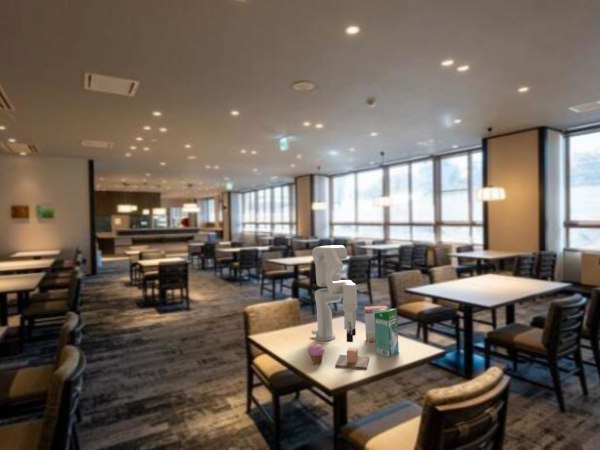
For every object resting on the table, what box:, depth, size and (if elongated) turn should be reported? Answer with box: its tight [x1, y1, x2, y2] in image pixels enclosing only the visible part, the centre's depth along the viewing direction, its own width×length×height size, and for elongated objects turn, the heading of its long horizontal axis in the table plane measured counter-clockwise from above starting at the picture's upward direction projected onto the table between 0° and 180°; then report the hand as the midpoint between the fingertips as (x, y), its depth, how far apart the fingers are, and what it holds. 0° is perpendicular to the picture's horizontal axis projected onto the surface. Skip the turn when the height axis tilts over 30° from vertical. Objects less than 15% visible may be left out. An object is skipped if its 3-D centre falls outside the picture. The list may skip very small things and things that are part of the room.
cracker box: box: [363, 305, 389, 343], centre depth 222 cm, size 14×6×21 cm, turn 84°
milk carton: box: [374, 308, 400, 358], centre depth 201 cm, size 9×9×25 cm
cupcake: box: [307, 343, 325, 365], centre depth 192 cm, size 9×9×10 cm
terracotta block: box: [346, 347, 359, 363], centre depth 189 cm, size 5×5×6 cm
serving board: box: [334, 354, 370, 370], centre depth 189 cm, size 16×14×1 cm
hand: (351, 338), depth 190 cm, fingers open, 9 cm apart
